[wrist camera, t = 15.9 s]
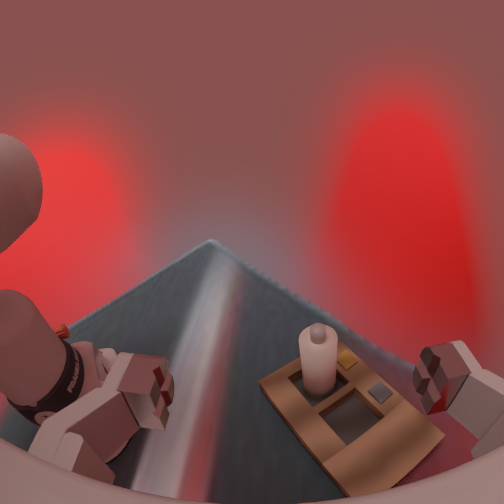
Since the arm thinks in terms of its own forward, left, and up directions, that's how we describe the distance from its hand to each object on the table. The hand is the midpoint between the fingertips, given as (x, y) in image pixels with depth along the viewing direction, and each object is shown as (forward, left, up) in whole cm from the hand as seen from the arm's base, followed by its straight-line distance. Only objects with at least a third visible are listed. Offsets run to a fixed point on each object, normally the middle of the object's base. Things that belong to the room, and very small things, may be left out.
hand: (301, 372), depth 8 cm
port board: (-6, +8, -27) cm, 29 cm away
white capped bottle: (-12, +9, -26) cm, 30 cm away
